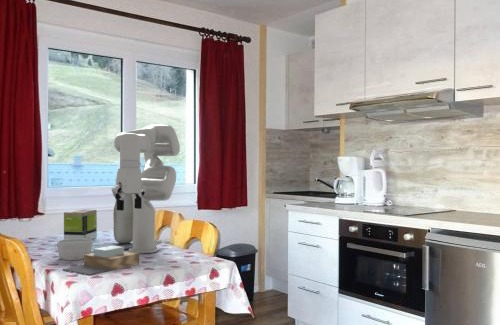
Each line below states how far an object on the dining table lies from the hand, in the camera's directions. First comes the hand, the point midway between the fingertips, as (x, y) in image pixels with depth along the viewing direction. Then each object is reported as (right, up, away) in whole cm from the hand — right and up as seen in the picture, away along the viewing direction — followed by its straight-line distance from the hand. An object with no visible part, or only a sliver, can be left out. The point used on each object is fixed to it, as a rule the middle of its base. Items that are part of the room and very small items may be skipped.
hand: (129, 209), depth 177 cm
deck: (-4, -20, -8) cm, 22 cm away
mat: (-10, -20, -18) cm, 28 cm away
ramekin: (-23, -20, +4) cm, 31 cm away
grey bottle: (-13, -21, +41) cm, 47 cm away
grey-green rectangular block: (-5, -16, -9) cm, 19 cm away
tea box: (-37, -21, +49) cm, 65 cm away
